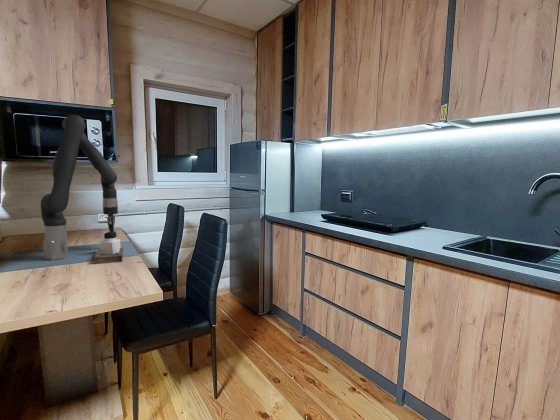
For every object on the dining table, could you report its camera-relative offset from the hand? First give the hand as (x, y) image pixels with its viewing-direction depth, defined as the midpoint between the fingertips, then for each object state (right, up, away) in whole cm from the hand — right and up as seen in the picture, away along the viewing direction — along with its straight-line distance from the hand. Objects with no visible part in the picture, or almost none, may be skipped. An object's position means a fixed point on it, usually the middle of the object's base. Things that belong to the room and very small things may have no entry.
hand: (111, 235), depth 175 cm
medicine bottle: (+4, -10, -8) cm, 13 cm away
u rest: (+9, -11, -17) cm, 22 cm away
